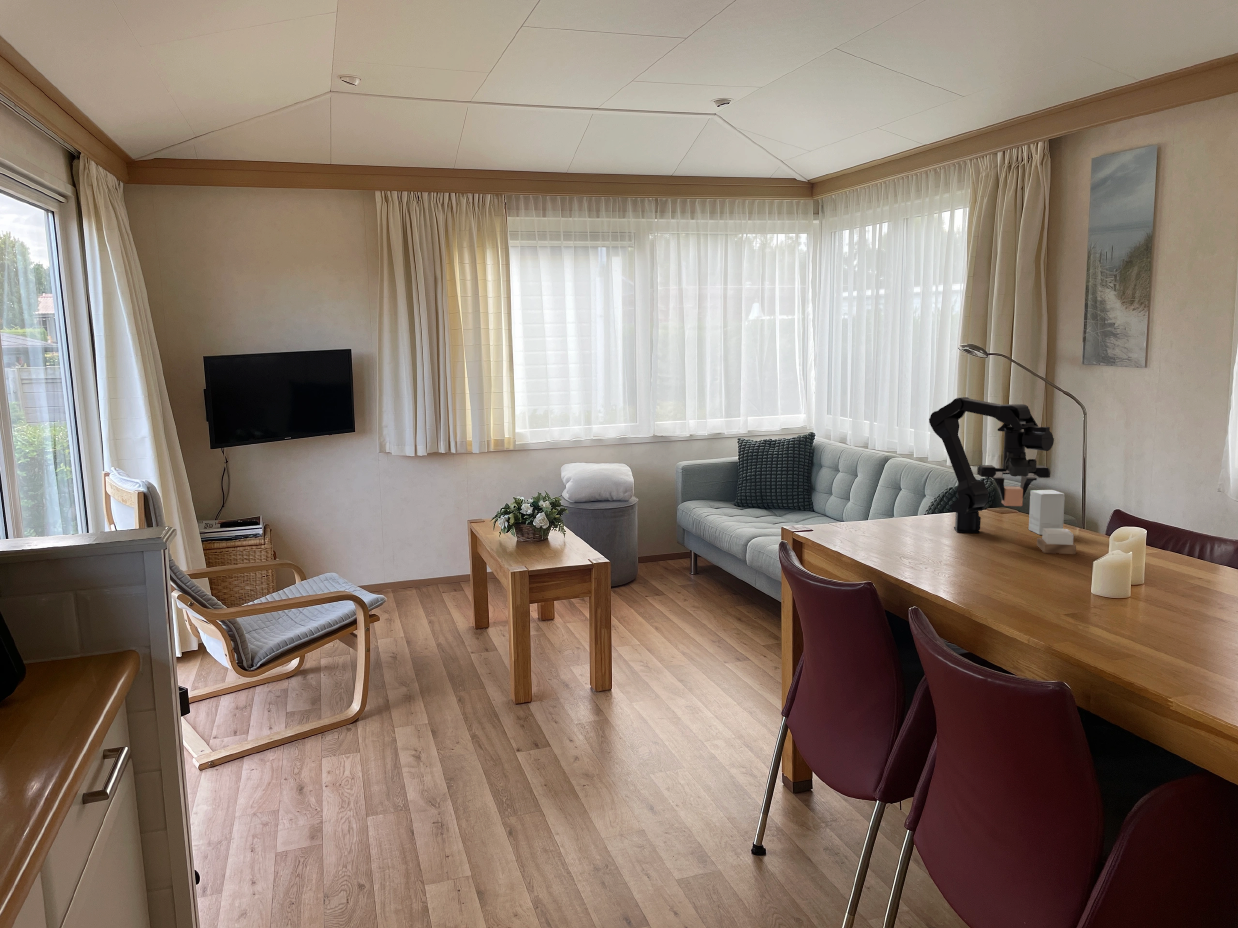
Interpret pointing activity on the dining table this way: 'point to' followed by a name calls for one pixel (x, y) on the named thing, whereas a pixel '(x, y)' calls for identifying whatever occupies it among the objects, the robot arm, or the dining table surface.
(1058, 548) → the walnut slab
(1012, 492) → the terracotta block
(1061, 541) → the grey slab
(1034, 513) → the supplement box
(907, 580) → the dining table surface
